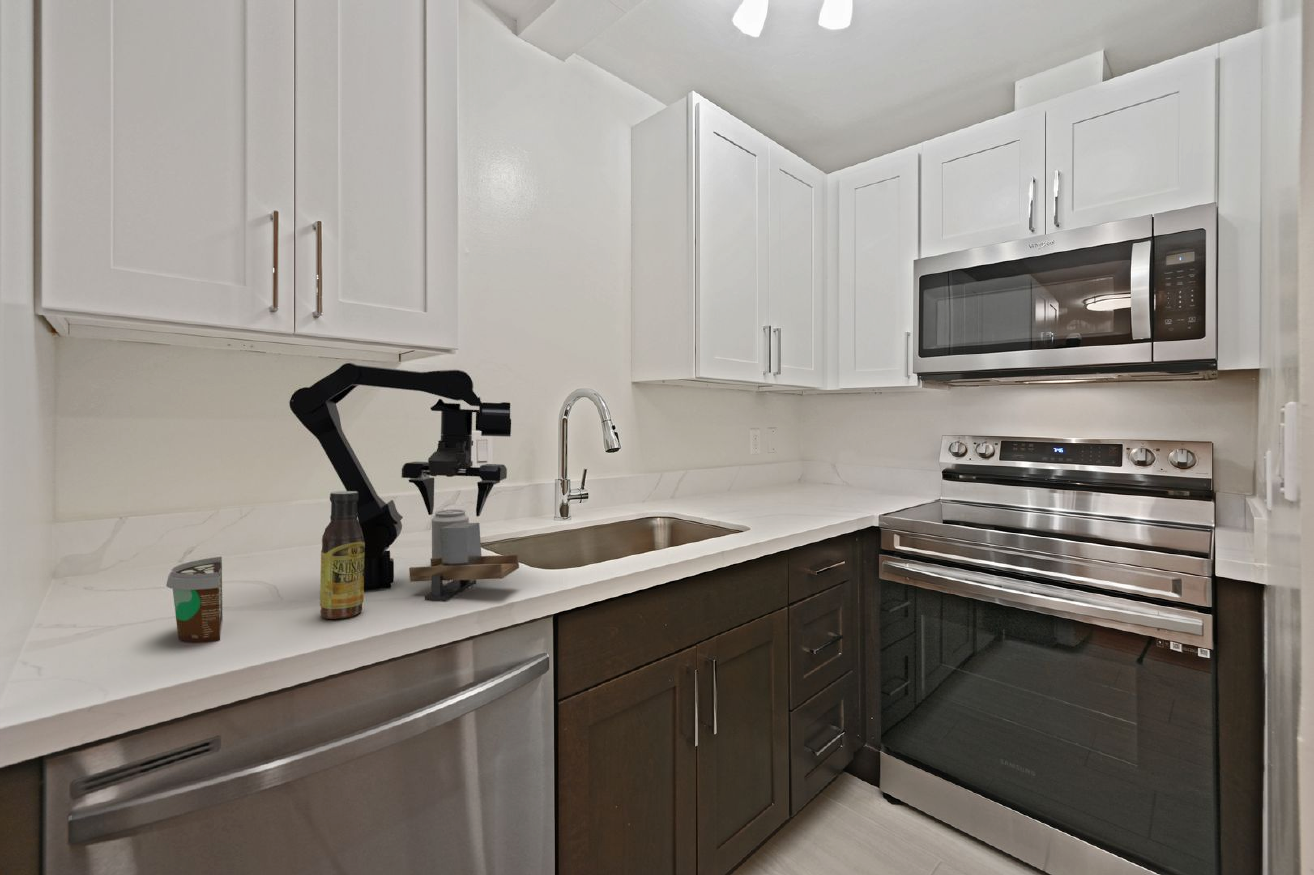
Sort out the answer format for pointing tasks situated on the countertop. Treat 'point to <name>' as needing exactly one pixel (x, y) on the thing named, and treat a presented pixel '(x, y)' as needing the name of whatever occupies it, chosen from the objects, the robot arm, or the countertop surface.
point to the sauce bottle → (342, 559)
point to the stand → (447, 588)
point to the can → (443, 520)
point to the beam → (467, 569)
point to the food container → (198, 599)
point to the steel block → (461, 544)
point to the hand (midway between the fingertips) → (454, 515)
